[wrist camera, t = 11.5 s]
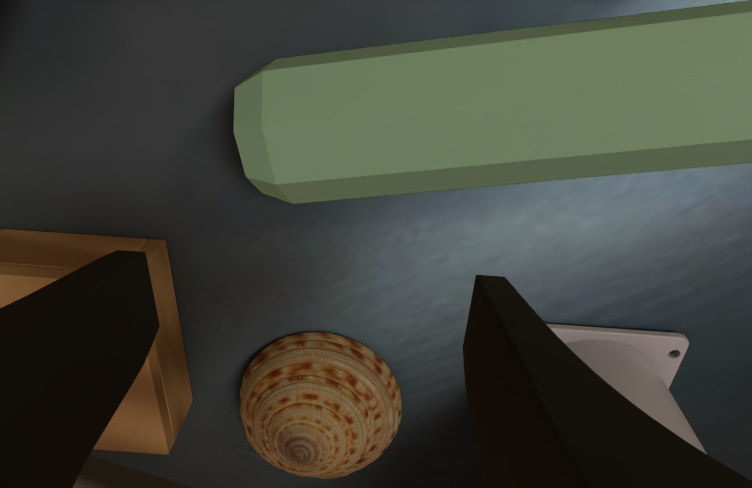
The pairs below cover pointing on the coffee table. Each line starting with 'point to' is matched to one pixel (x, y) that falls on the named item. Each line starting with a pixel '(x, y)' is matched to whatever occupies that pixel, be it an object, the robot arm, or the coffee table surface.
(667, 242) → the coffee table surface
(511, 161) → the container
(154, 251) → the wooden box
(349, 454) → the seashell
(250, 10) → the coffee table surface
